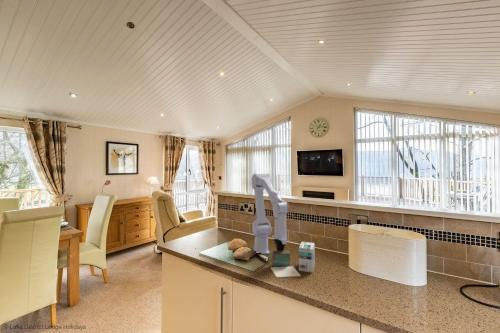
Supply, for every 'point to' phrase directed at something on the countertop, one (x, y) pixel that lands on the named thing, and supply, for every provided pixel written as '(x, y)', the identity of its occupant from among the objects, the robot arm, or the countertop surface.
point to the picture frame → (280, 258)
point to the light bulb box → (306, 256)
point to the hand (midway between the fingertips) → (280, 254)
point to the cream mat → (285, 271)
